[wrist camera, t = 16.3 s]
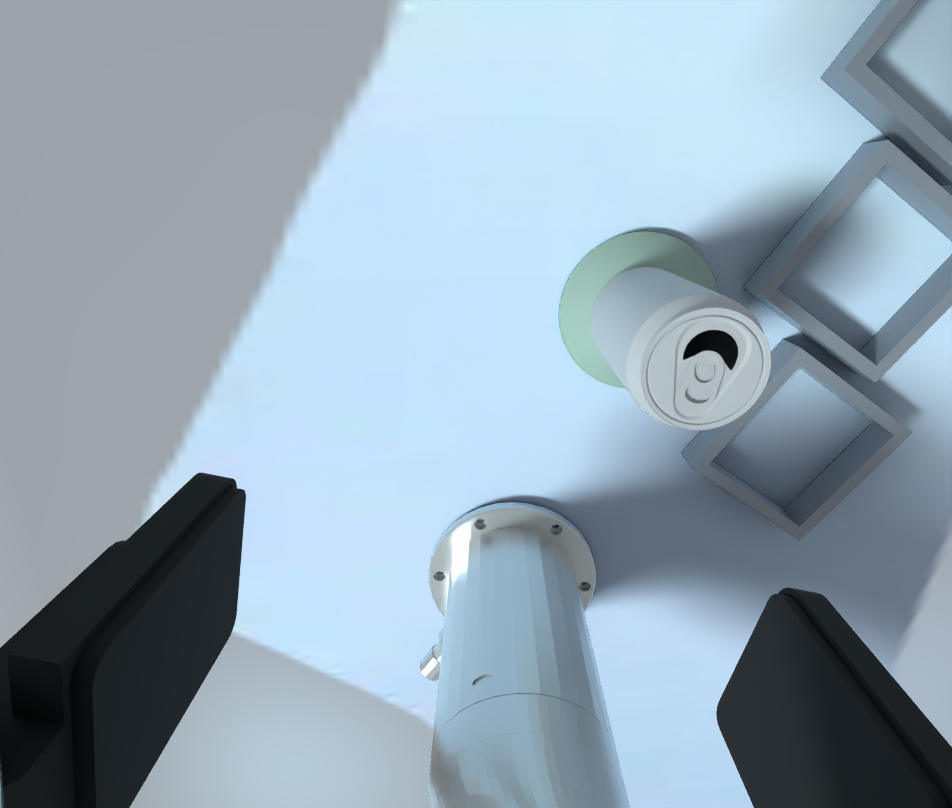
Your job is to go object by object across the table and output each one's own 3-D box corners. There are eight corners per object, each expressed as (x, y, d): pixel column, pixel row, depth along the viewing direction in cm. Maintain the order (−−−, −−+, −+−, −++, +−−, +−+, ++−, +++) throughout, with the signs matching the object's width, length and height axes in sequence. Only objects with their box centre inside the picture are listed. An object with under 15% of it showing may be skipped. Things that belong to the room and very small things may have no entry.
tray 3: (784, 523, 41) (799, 540, 39) (680, 453, 40) (691, 467, 38) (889, 419, 39) (912, 432, 36) (783, 338, 37) (800, 347, 35)
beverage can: (703, 277, 35) (806, 316, 24) (669, 374, 37) (748, 451, 26) (604, 255, 35) (660, 283, 23) (575, 353, 37) (614, 423, 25)
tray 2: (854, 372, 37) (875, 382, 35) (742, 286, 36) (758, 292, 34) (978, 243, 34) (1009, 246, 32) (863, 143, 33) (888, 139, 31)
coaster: (646, 412, 39) (648, 415, 38) (528, 331, 37) (528, 334, 36) (748, 291, 36) (752, 293, 35) (625, 197, 34) (627, 197, 33)
